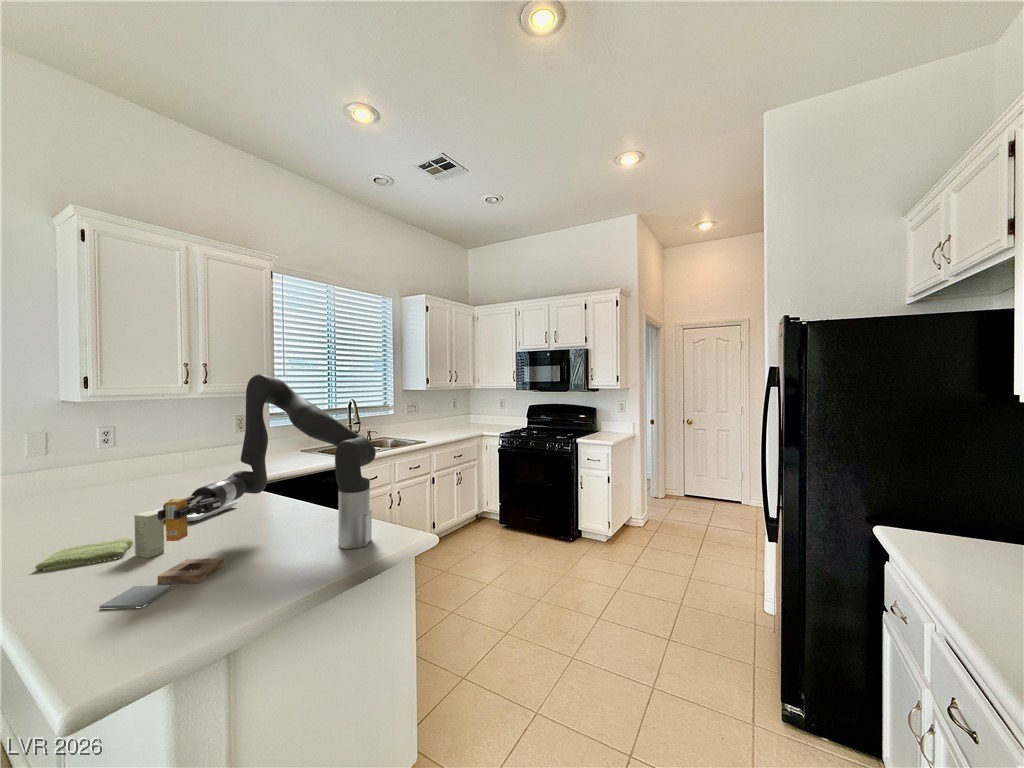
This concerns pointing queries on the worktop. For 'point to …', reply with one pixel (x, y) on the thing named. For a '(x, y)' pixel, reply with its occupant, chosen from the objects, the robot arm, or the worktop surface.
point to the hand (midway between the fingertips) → (167, 515)
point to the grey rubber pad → (136, 596)
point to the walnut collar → (184, 574)
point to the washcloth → (85, 554)
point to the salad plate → (201, 516)
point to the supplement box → (175, 520)
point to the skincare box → (149, 534)
